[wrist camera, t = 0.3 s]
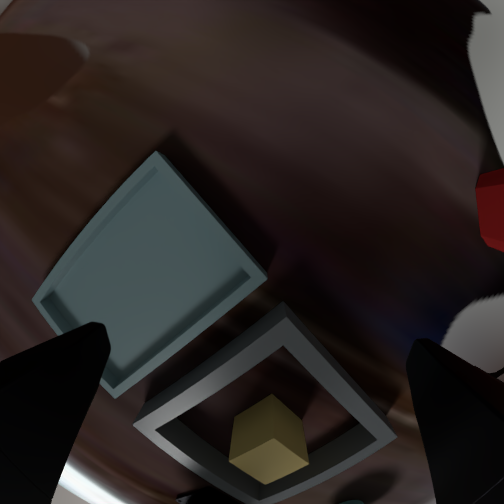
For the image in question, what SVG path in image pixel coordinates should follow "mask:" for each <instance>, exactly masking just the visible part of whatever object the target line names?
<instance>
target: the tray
mask: <svg viewBox="0 0 504 504" xmlns="http://www.w3.org/2000/svg"><path fill="white" fill-rule="evenodd" d="M267 279H268V278H267V272H266V271H265V270H264V269H263V267H262V266H261V265H260V264H259V263H258V262H257V261H256V259H255V258H254V257H253V256H252V255H251V254H250V253H249V251H248V250H247V249H246V248H245V247H244V246H243V244H242V243H241V242H240V241H239V240H238V239H237V238H236V236H235V235H234V234H233V233H232V232H231V231H230V230H229V228H228V227H227V226H226V225H225V224H224V223H223V222H222V220H221V219H220V218H219V217H218V216H217V215H216V214H215V212H214V211H213V210H212V209H211V208H210V207H209V205H208V204H207V203H206V202H205V201H204V200H203V199H202V197H201V196H200V195H199V194H198V193H197V192H196V191H195V189H194V188H193V187H192V186H191V185H190V184H189V183H188V181H187V180H186V179H185V178H184V177H183V176H182V174H181V173H180V172H179V171H178V170H177V169H176V168H175V166H174V165H173V164H172V163H171V162H170V161H169V160H168V158H167V157H166V156H165V155H164V154H162V153H160V152H158V151H155V152H154V153H153V154H152V155H151V156H150V157H149V158H148V159H147V160H146V161H145V162H144V163H143V164H142V165H141V166H140V167H139V168H138V169H137V170H136V171H135V172H134V173H133V174H132V175H131V176H130V177H129V178H128V179H127V180H126V181H125V182H124V183H123V184H122V186H121V187H120V188H119V189H118V190H117V191H116V192H115V193H114V194H113V195H112V196H111V198H110V199H109V200H108V201H107V202H106V203H105V204H104V205H103V207H102V208H101V209H100V210H99V211H98V212H97V214H96V215H95V216H94V217H93V218H92V219H91V221H90V222H89V223H88V224H87V225H86V227H85V228H84V229H83V230H82V232H81V233H80V234H79V235H78V237H77V238H76V239H75V240H74V242H73V243H72V244H71V245H70V247H69V248H68V249H67V251H66V252H65V253H64V255H63V256H62V257H61V259H60V260H59V261H58V263H57V264H56V265H55V267H54V268H53V270H52V271H51V272H50V274H49V275H48V277H47V278H46V279H45V281H44V282H43V284H42V285H41V287H40V288H39V290H38V291H37V293H36V294H35V296H34V297H33V299H32V301H33V302H34V304H35V305H36V307H37V308H38V310H39V311H40V312H41V314H42V315H43V317H44V318H45V319H46V321H47V322H48V323H49V325H50V326H51V327H52V329H53V330H54V331H55V332H56V334H57V335H58V336H59V335H62V334H64V333H66V332H68V331H71V330H73V329H75V328H78V327H80V326H82V325H84V324H87V323H89V322H92V321H94V322H100V323H103V324H104V325H105V326H106V330H107V333H108V337H109V341H110V344H111V352H110V355H109V358H108V361H107V364H106V366H105V369H104V372H103V375H102V378H101V380H100V384H101V385H102V386H103V387H104V388H105V389H106V390H107V391H108V392H109V393H110V394H111V395H112V396H113V397H114V398H115V399H116V398H117V397H118V396H120V395H121V394H122V393H124V392H125V391H126V390H128V389H129V388H130V387H132V386H133V385H134V384H136V383H137V382H138V381H140V380H141V379H142V378H144V377H145V376H146V375H147V374H149V373H150V372H151V371H153V370H154V369H155V368H157V367H158V366H159V365H161V364H162V363H163V362H164V361H166V360H167V359H168V358H170V357H171V356H172V355H173V354H175V353H176V352H177V351H179V350H180V349H181V348H182V347H184V346H185V345H186V344H188V343H189V342H190V341H191V340H193V339H194V338H195V337H196V336H198V335H199V334H200V333H201V332H203V331H204V330H205V329H207V328H208V327H209V326H210V325H212V324H213V323H214V322H215V321H217V320H218V319H219V318H220V317H222V316H223V315H224V314H225V313H226V312H228V311H229V310H230V309H231V308H233V307H234V306H235V305H236V304H238V303H239V302H240V301H241V300H243V299H244V298H245V297H246V296H247V295H249V294H250V293H251V292H252V291H254V290H255V289H256V288H257V287H258V286H260V285H261V284H262V283H263V282H264V281H266V280H267Z"/></svg>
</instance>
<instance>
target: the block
mask: <svg viewBox="0 0 504 504" xmlns="http://www.w3.org/2000/svg"><path fill="white" fill-rule="evenodd" d="M229 462H230V463H232V464H233V465H235V466H236V467H238V468H239V469H241V470H242V471H244V472H245V473H247V474H249V475H250V476H252V477H253V478H255V479H256V480H258V481H260V482H261V483H263V484H265V485H266V484H268V483H271V482H273V481H275V480H277V479H280V478H282V477H284V476H286V475H288V474H290V473H292V472H294V471H296V470H298V469H300V468H302V467H304V466H306V465H308V464H309V459H308V453H307V447H306V441H305V435H304V429H303V423H302V420H301V419H300V418H299V417H298V416H297V415H295V414H294V413H293V412H292V411H291V410H290V409H289V408H288V407H286V406H285V405H284V404H283V403H282V402H281V401H280V400H279V399H277V398H276V397H275V396H274V395H273V394H270V395H269V396H267V397H266V398H264V399H263V400H261V401H260V402H258V403H256V404H255V405H253V406H252V407H250V408H248V409H247V410H245V411H243V412H242V413H240V414H238V415H237V416H235V417H234V424H233V431H232V439H231V446H230V454H229Z"/></svg>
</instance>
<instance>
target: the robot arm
mask: <svg viewBox="0 0 504 504" xmlns="http://www.w3.org/2000/svg"><path fill="white" fill-rule="evenodd" d="M110 352H111V344H110V341H109V337H108V333H107V330H106V326H105V325H104V324H103V323H100V322H94V321H92V322H89V323H87V324H84V325H82V326H80V327H78V328H75V329H73V330H71V331H68V332H66V333H64V334H62V335H59V336H57V337H55V338H52V339H50V340H48V341H46V342H43V343H41V344H39V345H36V346H34V347H32V348H30V349H27V350H25V351H23V352H21V353H18V354H16V355H14V356H11V357H9V358H7V359H5V360H2V361H1V362H0V504H51V501H52V500H51V499H52V498H53V496H54V493H55V490H56V487H57V485H58V482H59V479H60V476H61V474H62V471H63V469H64V466H65V464H66V461H67V458H68V456H69V454H70V451H71V449H72V446H73V444H74V441H75V439H76V437H77V434H78V432H79V430H80V427H81V425H82V423H83V421H84V418H85V416H86V414H87V412H88V409H89V407H90V405H91V403H92V401H93V399H94V396H95V394H96V392H97V389H98V386H99V383H100V380H101V378H102V375H103V372H104V369H105V366H106V364H107V361H108V358H109V355H110ZM406 371H407V375H408V380H409V385H410V390H411V396H412V401H413V406H414V411H415V415H416V418H417V422H418V425H419V429H420V433H421V436H422V440H423V444H424V448H425V452H426V456H427V460H428V464H429V469H430V473H431V478H432V483H433V488H434V493H435V498H436V504H504V384H502V383H500V382H499V381H497V380H496V379H494V378H492V377H491V376H489V375H487V374H486V373H484V372H483V371H481V370H479V369H478V368H476V367H474V366H473V365H471V364H470V363H468V362H466V361H465V360H463V359H461V358H460V357H458V356H456V355H455V354H453V353H452V352H450V351H448V350H447V349H445V348H443V347H442V346H440V345H438V344H437V343H435V342H433V341H432V340H430V339H428V338H423V339H416V340H415V341H414V343H413V345H412V348H411V350H410V353H409V356H408V358H407V361H406ZM176 501H177V502H178V503H180V504H239V503H237V502H235V501H234V500H232V499H230V498H228V497H226V496H225V495H223V494H221V493H220V492H218V491H216V490H215V489H213V488H211V487H206V488H203V489H200V490H198V491H195V492H192V493H189V494H186V495H183V496H180V497H177V498H176Z"/></svg>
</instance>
